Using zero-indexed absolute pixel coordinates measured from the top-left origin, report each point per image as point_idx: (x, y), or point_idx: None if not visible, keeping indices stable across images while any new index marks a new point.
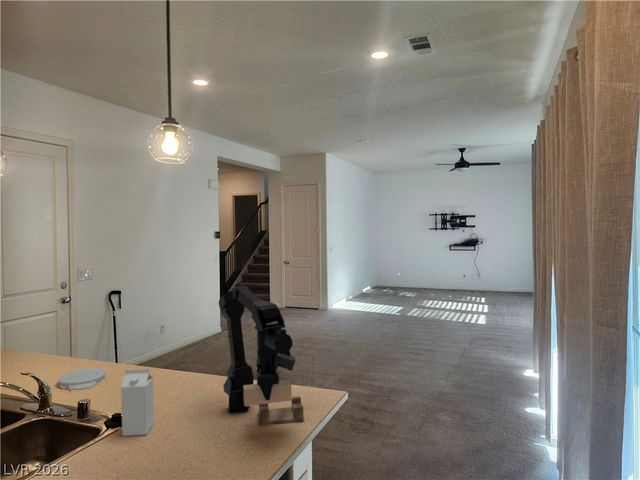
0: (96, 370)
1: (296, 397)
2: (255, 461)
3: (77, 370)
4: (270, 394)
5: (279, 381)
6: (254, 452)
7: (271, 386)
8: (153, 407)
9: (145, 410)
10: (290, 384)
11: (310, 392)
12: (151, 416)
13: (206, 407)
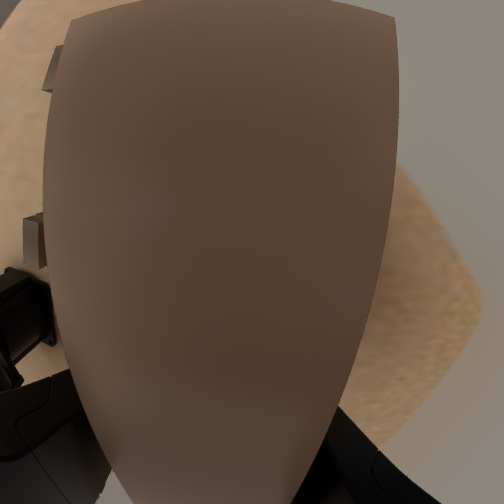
0: None
1: (55, 65)
2: (419, 342)
3: None
4: (346, 415)
5: (63, 274)
6: (372, 339)
7: (420, 500)
8: (101, 497)
9: None
10: (390, 37)
11: (11, 36)
12: (119, 494)
13: (30, 375)
